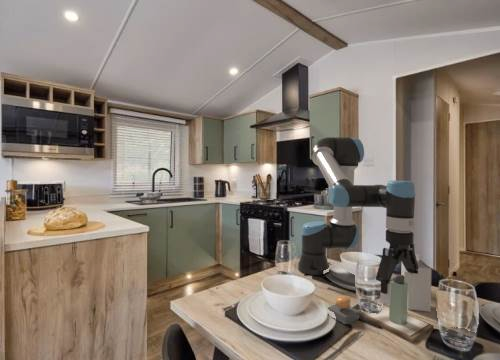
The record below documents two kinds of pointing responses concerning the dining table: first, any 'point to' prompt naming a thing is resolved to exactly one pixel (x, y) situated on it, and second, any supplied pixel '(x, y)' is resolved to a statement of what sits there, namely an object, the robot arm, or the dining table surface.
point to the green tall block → (398, 299)
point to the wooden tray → (406, 331)
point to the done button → (343, 301)
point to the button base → (345, 314)
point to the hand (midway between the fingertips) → (397, 297)
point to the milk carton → (420, 287)
